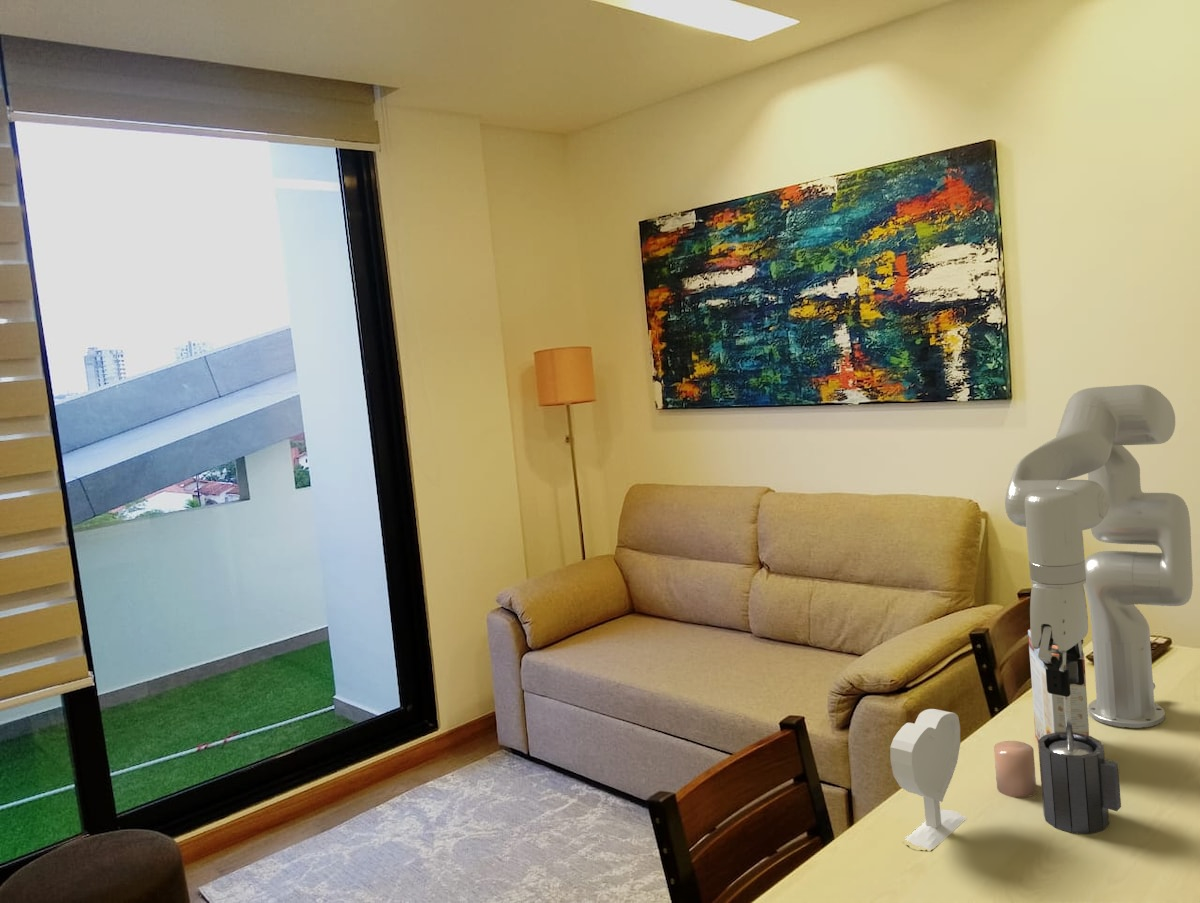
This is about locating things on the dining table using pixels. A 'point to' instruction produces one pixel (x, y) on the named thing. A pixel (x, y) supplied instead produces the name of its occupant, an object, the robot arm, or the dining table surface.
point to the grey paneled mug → (1078, 786)
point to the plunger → (1070, 720)
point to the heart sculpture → (928, 770)
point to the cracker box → (1055, 700)
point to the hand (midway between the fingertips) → (1066, 687)
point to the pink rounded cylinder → (1015, 769)
